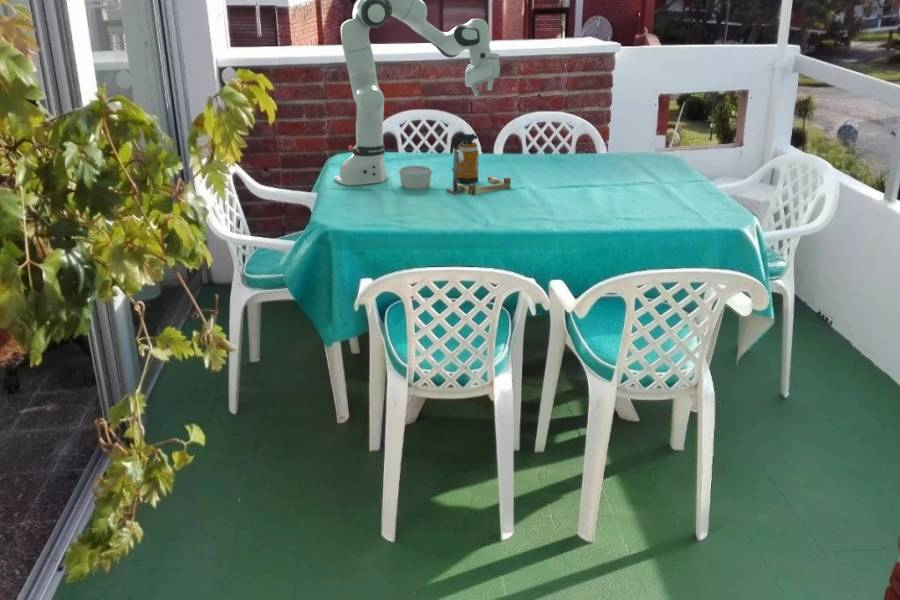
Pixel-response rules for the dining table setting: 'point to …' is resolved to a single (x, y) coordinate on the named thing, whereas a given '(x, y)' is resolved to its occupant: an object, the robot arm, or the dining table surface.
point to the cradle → (498, 186)
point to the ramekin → (415, 177)
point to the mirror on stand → (457, 158)
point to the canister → (467, 158)
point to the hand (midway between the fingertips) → (483, 92)
